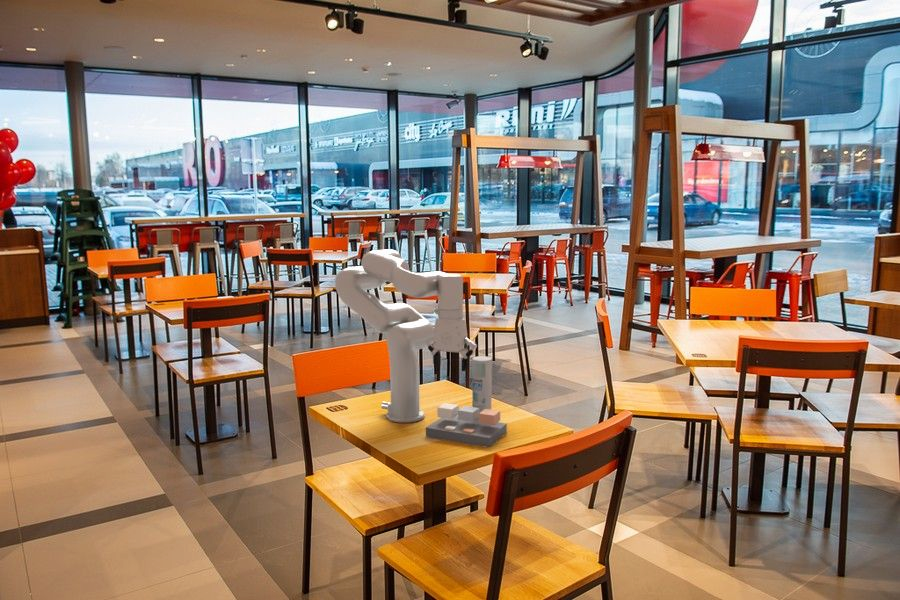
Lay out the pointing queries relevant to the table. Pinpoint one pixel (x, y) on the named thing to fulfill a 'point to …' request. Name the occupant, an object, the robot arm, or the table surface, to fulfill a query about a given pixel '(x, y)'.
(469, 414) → the grey key
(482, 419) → the terracotta key
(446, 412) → the cream key
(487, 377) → the spray can
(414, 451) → the table surface
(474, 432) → the key pad
